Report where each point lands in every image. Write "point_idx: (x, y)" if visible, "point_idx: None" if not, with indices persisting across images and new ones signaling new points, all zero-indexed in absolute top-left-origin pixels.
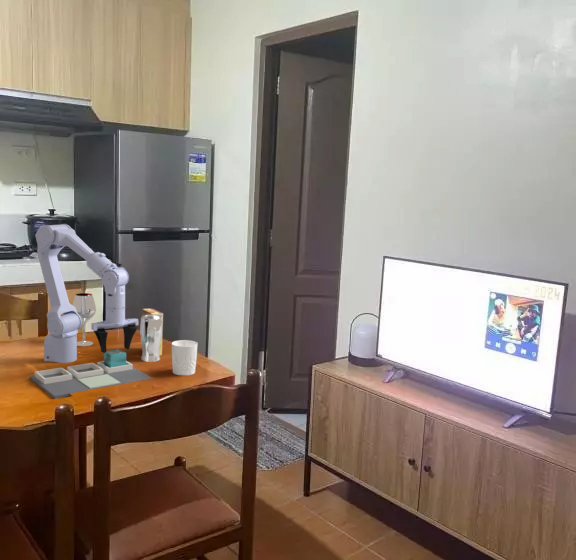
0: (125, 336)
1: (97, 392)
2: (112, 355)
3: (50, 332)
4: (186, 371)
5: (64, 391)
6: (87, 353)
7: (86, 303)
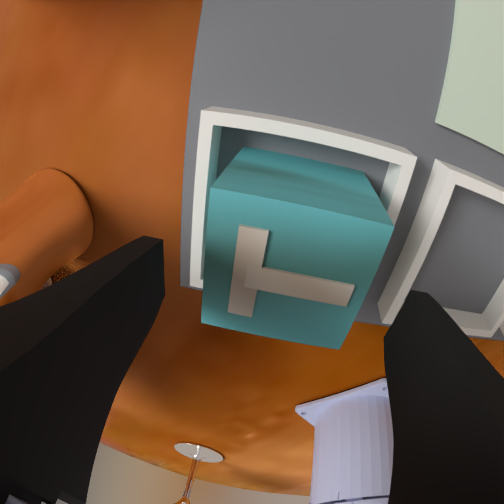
0: (102, 385)
1: None
2: (377, 221)
3: None
4: None
5: None
6: (236, 422)
7: None
